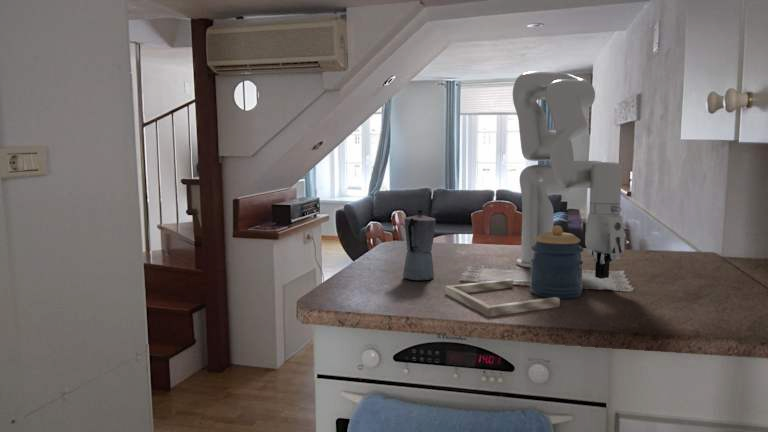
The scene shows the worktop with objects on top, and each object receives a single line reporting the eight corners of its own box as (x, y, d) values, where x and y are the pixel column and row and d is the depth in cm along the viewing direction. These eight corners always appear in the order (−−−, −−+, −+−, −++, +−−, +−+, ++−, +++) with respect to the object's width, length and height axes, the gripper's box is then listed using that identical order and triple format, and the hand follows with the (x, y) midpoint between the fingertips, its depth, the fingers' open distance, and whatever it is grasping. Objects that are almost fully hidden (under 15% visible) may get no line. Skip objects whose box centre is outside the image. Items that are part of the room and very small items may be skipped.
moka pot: (441, 273, 167) (441, 207, 165) (428, 286, 153) (428, 213, 150) (410, 271, 170) (410, 206, 168) (394, 283, 156) (394, 212, 153)
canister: (519, 289, 148) (520, 223, 146) (558, 284, 153) (560, 220, 151) (552, 302, 136) (554, 230, 134) (593, 296, 142) (596, 227, 139)
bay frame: (509, 286, 152) (509, 278, 152) (559, 306, 133) (559, 298, 132) (445, 293, 145) (445, 286, 145) (488, 316, 126) (488, 307, 126)
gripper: (637, 211, 142) (634, 282, 144) (595, 205, 156) (593, 270, 158) (614, 213, 139) (611, 285, 142) (574, 207, 153) (571, 272, 155)
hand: (601, 277), depth 150 cm, fingers closed
